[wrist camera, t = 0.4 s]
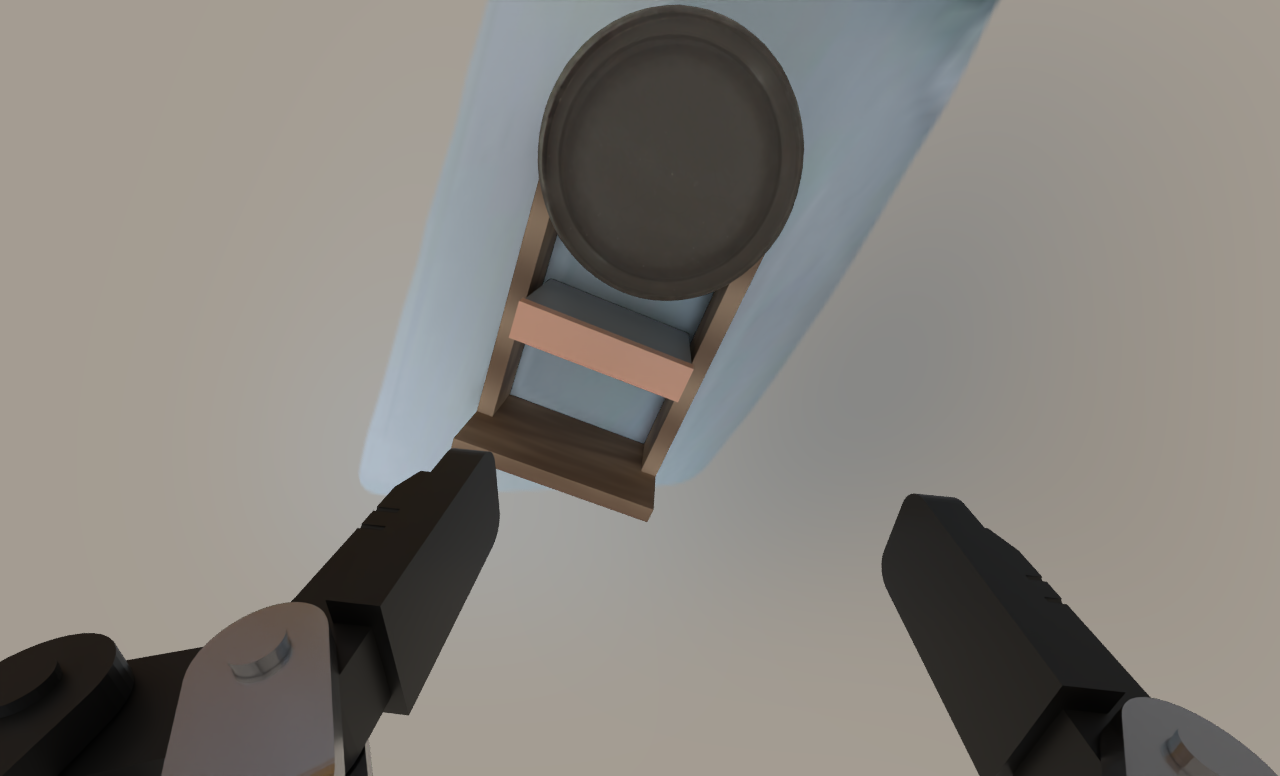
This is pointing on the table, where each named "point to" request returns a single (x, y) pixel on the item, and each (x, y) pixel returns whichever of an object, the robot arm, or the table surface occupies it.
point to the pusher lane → (562, 443)
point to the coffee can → (670, 152)
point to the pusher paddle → (605, 338)
